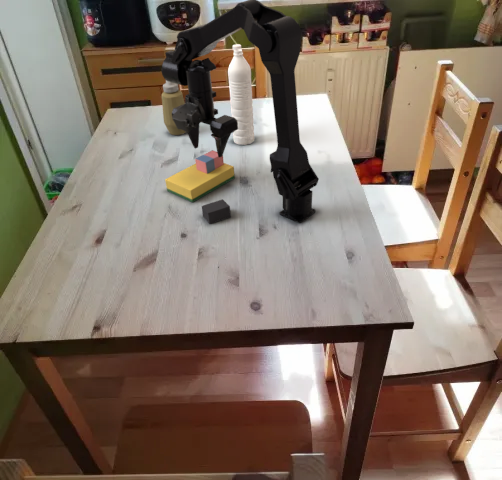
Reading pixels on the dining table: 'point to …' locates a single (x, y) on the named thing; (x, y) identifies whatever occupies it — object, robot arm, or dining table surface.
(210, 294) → the dining table surface
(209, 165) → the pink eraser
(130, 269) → the dining table surface
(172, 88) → the squeeze bottle
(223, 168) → the sponge
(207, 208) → the grey eraser
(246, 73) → the water bottle
